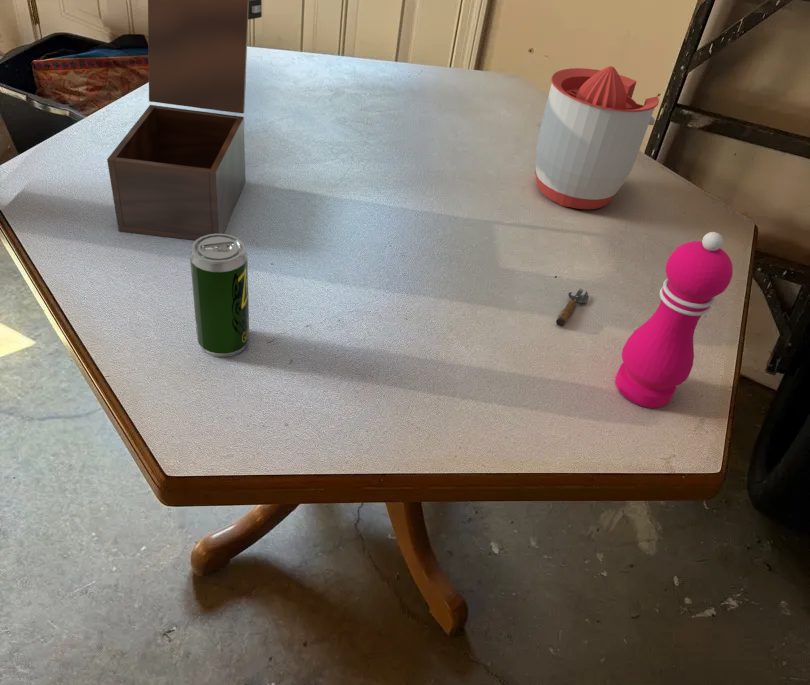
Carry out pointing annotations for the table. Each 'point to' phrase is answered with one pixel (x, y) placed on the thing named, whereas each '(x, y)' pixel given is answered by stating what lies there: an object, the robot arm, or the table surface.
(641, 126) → the citrus juicer
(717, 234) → the pepper mill
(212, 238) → the beer can
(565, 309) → the can opener
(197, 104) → the lid
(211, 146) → the chest
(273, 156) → the table surface
